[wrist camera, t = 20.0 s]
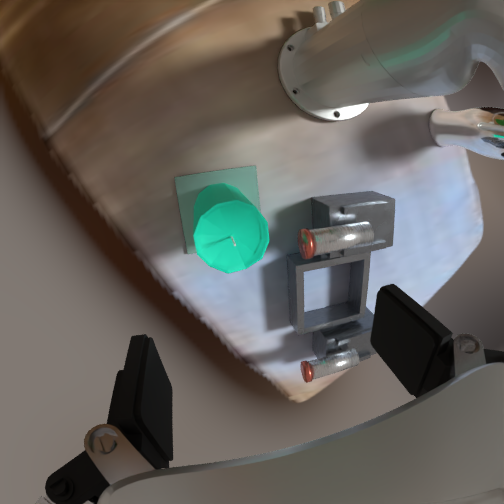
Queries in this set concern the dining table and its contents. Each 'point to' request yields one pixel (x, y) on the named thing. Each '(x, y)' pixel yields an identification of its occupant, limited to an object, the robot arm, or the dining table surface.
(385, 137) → the dining table surface
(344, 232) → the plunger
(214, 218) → the candle
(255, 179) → the pad
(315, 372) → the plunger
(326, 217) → the housing
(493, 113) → the beer glass
